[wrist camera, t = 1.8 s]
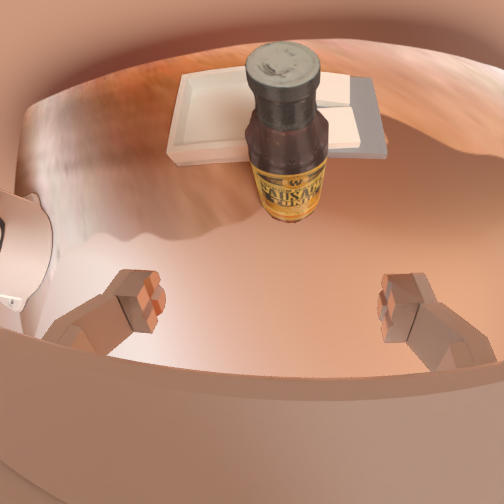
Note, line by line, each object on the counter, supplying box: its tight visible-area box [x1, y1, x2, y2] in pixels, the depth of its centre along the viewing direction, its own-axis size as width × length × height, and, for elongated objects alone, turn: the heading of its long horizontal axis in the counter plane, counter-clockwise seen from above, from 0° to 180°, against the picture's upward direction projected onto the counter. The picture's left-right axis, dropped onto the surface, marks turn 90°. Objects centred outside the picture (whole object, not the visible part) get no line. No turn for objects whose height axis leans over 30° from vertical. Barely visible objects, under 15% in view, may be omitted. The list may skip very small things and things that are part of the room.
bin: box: [166, 66, 255, 167], centre depth 35 cm, size 12×13×4 cm
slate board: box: [317, 77, 387, 159], centre depth 34 cm, size 10×12×1 cm
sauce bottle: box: [245, 41, 329, 223], centre depth 23 cm, size 6×6×20 cm
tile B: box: [316, 72, 350, 108], centre depth 33 cm, size 5×5×1 cm
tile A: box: [317, 107, 361, 149], centre depth 32 cm, size 5×5×1 cm
